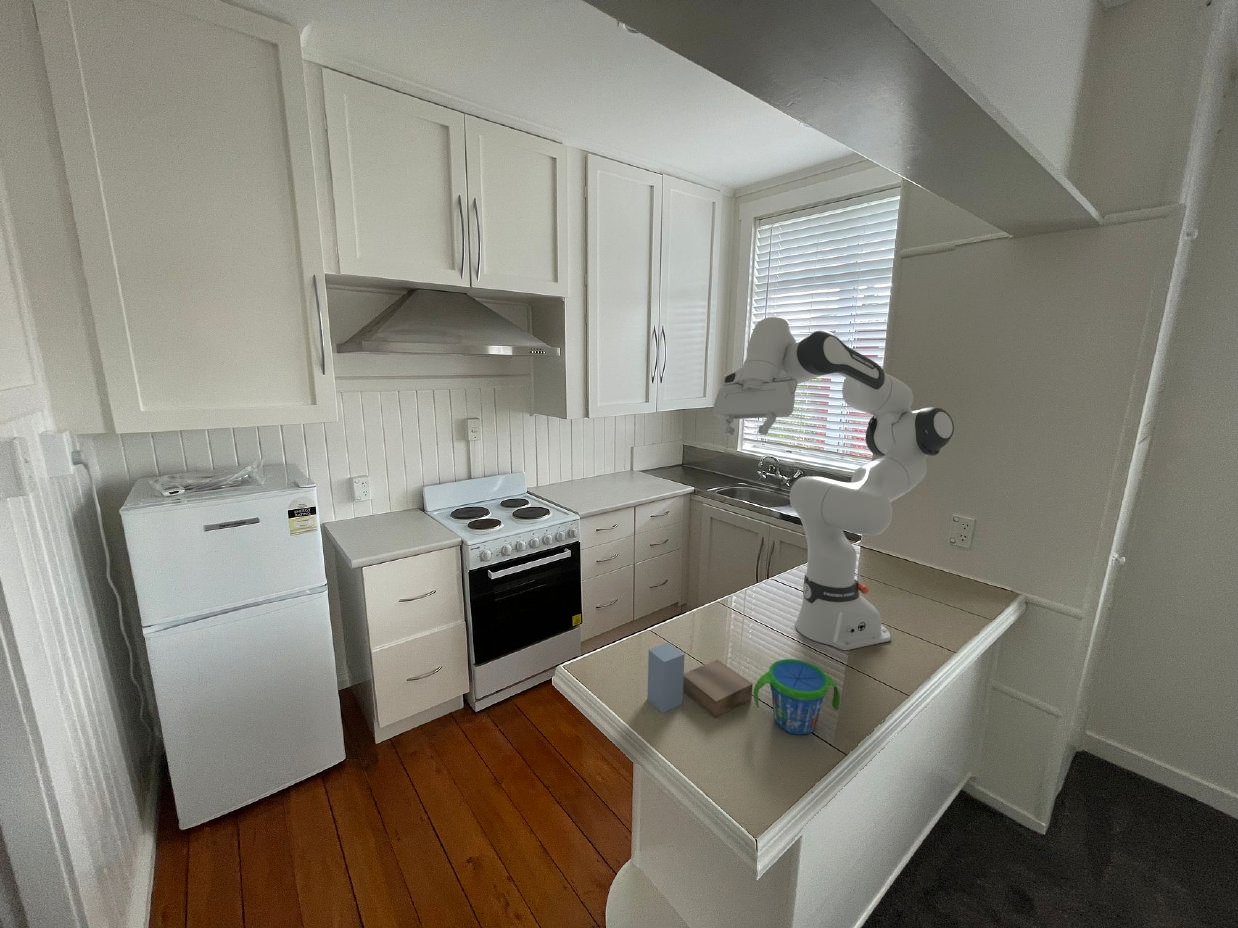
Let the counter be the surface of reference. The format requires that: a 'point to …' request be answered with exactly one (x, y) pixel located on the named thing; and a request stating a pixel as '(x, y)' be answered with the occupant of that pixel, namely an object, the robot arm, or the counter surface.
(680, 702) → the pillar
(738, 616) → the counter surface
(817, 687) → the snack cup
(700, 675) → the walnut base
